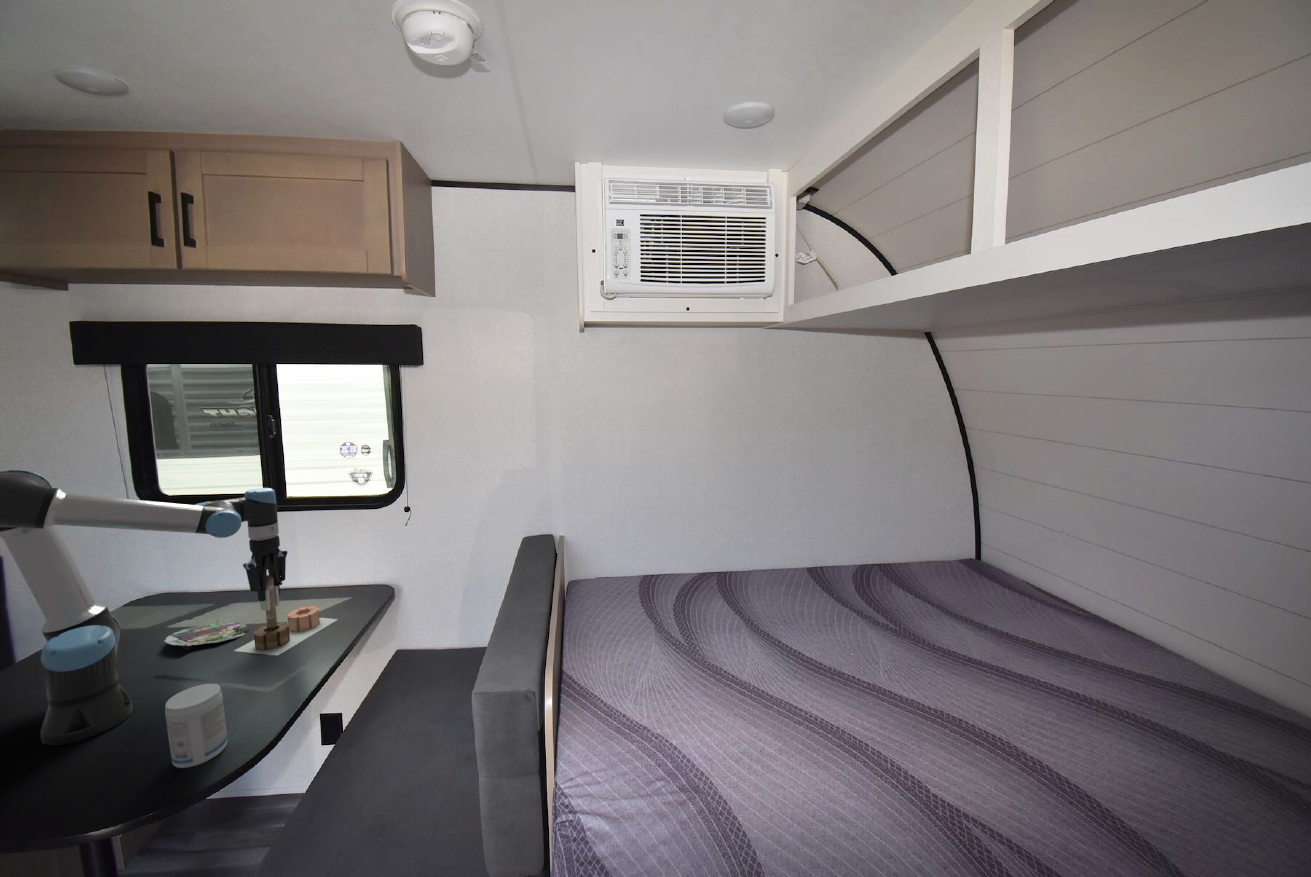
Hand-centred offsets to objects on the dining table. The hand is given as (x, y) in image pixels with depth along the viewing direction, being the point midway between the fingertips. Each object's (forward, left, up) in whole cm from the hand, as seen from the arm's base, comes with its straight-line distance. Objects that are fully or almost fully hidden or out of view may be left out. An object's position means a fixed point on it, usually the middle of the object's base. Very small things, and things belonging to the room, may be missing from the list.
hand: (270, 607), depth 158 cm
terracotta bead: (+12, 0, -12) cm, 17 cm away
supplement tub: (-43, -26, -14) cm, 52 cm away
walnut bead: (0, 0, -12) cm, 12 cm away
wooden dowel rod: (0, 0, -7) cm, 7 cm away
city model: (+2, +25, -14) cm, 29 cm away
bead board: (+6, 0, -14) cm, 15 cm away
